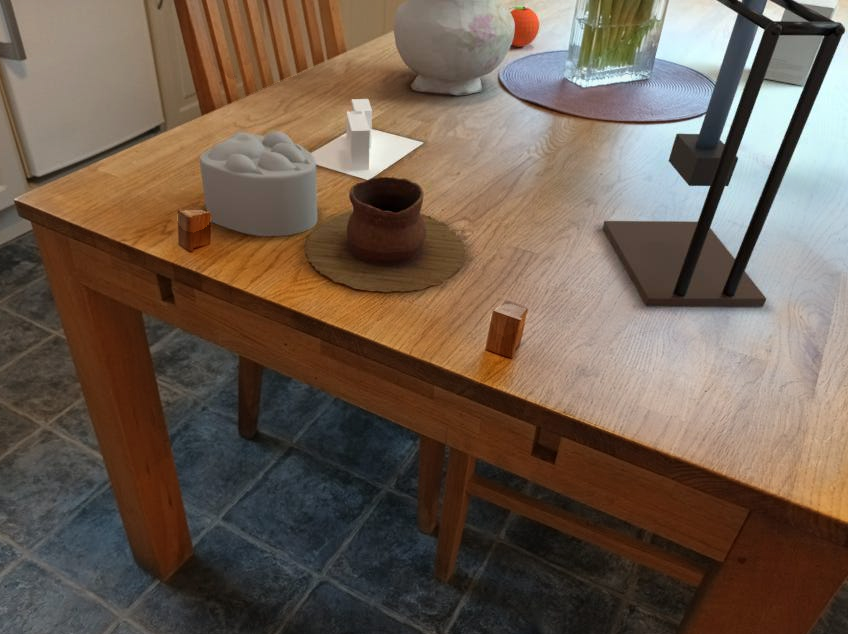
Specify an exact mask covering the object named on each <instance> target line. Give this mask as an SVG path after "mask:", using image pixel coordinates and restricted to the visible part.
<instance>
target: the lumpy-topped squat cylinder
mask: <svg viewBox="0 0 848 634" xmlns="http://www.w3.org/2000/svg"><path fill="white" fill-rule="evenodd" d="M311 153H312V152H310V151H309V150H308V149H306V148H304V147H303V146H302V145H300V144H298V143H294V142H293V139H291V137H290V136H289V135H287V133H285V132H283V131H279V130H275V131H274V130H273V131H270V132H268V133H267V134H266V135H261V134H251V133H249V132H245V131H240V132H239V131H238V132H236V133H233V134H232V136H230V137H228V138H226V139H225V140H224V141H222V142H219V143H216V144H215V145H214V146H213V147H212V148H210V149H207V150H205V151H203V152H202V153H201V154H200V155H199V168H200V175H201V182H202V189H203V197H204V204H205V211H206V210H207V211H209V212H210V213H211V220H209V221H210V222H212V223H213V224H216V225H218V226H221V227H223V228H226V229H229V230H231V231H234V232H235V231H236V232H239V233H243V234H247V235H251V236H256V237H284V236H285V237H286V236H291V235H296V234H300V233H303V232H304V233H305V232H308V231H309V230H311V229H313V228H314V227H315V226H316V225H317V223H318V196H317V195H318V191H317V165H316V162H315V159H314V157H313V155H312V154H311Z"/></svg>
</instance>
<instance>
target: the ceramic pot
mask: <svg viewBox="0 0 848 634" xmlns="http://www.w3.org/2000/svg"><path fill="white" fill-rule="evenodd" d="M424 196H425V195H424V190H423V188H422V186H421V185H420V184H419V183H417V182H413V181H411V179H408V178H404V177H403V178H397V177H390V176H379V177H373V178H370V179H369V180H365V181H361V182H356V184H354V185H352V186H351V188H350V190H349V193H348V198H349V200H350V203H351V205H352V208H353V210H352V211H351V212H349V213H346V214H341V215H339V216H334V217H333V218H331V219H329V220H328V221H325V222H323V223H322V224H320V225H318V227H317V228H316V229H315V230H314V231H312V232H311V234H310V235H309V236H308V238H307V239H306V241H307V242H306V243H305V244H304V248H305V249H304V254H305V255H306V257H307V262H308V263H311V266H312V267H314V269H315V270H316V271H318V272H319V274H321V275H323V276H326V277H327V278H329V279H331V280H332V281H333V282H334V283H335V284H336V283H338V284H344V285H345V286H348V287H351V288H352V289H355V290H362V291H369V292H375V291H377V292H383V293H390V292H391V293H392V292H401V293H405V292H413V291H419V290H420V291H422V290H424V289H425V288H429V287H432V286H439V285H441V284H443V283H444V281H445V279H448V278H450V277H452V276H453V275H455V274H456V272H457V271H460V269H461V268H462V266H463V265H464V264H465V261H466V260H467V256H466V253H467V249H466V248H465V247H466V244H465V243H464V242H463V241H462V240H461V236H460V235H458V234H457V233H456V232H455V231H454V229H449V225H448V224H447V223H446V222H444V221H441V220H438V219H436V218H435V217H432V216H430V215H426V214H423V213H421V211H422V207H423V202H424Z"/></svg>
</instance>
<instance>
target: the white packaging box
mask: <svg viewBox="0 0 848 634" xmlns="http://www.w3.org/2000/svg"><path fill="white" fill-rule="evenodd" d="M794 1H796V2H797V3H799V4H801V5H803V6H805V7H807V8H809V9H811V10H813V11H815V12H817V13H819V14H821V15H823V16H825V17H827V18H829V19H831V20H833V17H834V15H835V12H836V9H837V7H838V4H839V0H794ZM780 21H794V22H809V21H807V20H805V19H803V18H801V17H799V16H798V15H796V14H794V13H792V12H790V11H788V10H786V9H785V8H784V11H783V13H782V16H781V19H780ZM823 38H824V36H791V35H780V36H779V39H778V41H777V44H776V47H775V50H774V52H773V55H772V58H771V61H770V63H769V66H768V69H767V72H766V74H765V77H764V80H771V81H776V82H781V83H784V84H785V83H786V84H792V85H797V86H804V85H805V83H806V80H807V78H808V75H809V73H810V70H811V68H812V65H813V63H814V60H815V58H816V55H817V53H818V50H819V48H820V45H821V43H822V40H823Z"/></svg>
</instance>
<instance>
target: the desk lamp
mask: <svg viewBox="0 0 848 634" xmlns="http://www.w3.org/2000/svg"><path fill="white" fill-rule="evenodd" d="M716 1H717V2H719V3H720V4H722V5H724V6H725V7H727V8H728V9H730V10H731V11H733V12H734V13H736V14H737V15H738V14H740V15H741V16H743V17H744V18H746V19H748V20H749V21H751V22H753V23H754V24H756V25H757V26H758V28H760V29H762V30H763V33H762V35H761V38H760V41H759V44H758V47H757V50H756V53H755V56H754V59H753V61H752V63H751V67H750V70H749V73H748V76H747V79H746V81H745V83H744V84H745V85H744V87H743V89H742V93H741V96H740V99H739V102H738V105H737V107H736V110H735V113H734V116H733V119H732V121H731V125H730V128H729V131H728V133H727V136H726V138H725V142H724V144H725V145H724V147H723V150H722V153H721V156H720V159H719V162H718V165H717V168H716V171H715V173H714V176H713V179H712V182H711V185H710V186H709V188H708V191H707V194H706V196H705V200H704V202H703V205H702V208H701V211H700V214H699V217H698V220H697V221H685V220H683V221H682V220H681V221H679V220H678V221H675V220H674V221H672V220H671V221H670V220H669V221H668V220H663V221H662V220H647V221H646V220H604V221H603V224H602V230H603V233H605V236H606V237H607V239H608V241H609V242H610V244H611V246H612V248H613V249H614V251H615V254H616V255H617V257H618V259H619V260H620V262H621V263H622V266H623V268H624V269H625V271H626V273H627V275H628V276H629V278H630V280H631V281H632V283H633V286H634V287H635V289H636V291H637V292H638V294H639V296H640V298H641V300H642V302H643V303H644V305H645V307H726V308H727V307H729V308H730V307H732V308H733V307H734V308H735V307H737V308H738V307H739V308H740V307H744V308H745V307H746V308H747V307H750V308H751V307H753V308H756V307H757V308H758V307H759V308H760V307H761V308H762V307H764V306H765V305H766V301H767V297H766V296H765V295H764V294H763V292H762V291H761V290H760V288H759V287H758V285H756V283H755V282H754V281H753V280H752V278H751V277H750V276H749V275H748V274H747V272H746V269H747V266H748V264H749V262H750V260H751V257H752V254H753V252H754V250H755V248H756V245H757V243H758V240H759V237H760V235H761V233H762V230H763V228H764V227H765V226H764V225H765V223H766V222H767V218H768V216H769V213H770V211H771V208H772V206H773V204H774V201H775V199H776V198H777V197H776V196H777V194H778V192H779V190H780V187H781V185H782V182H783V180H784V177H785V175H786V172H787V170H788V167H789V165H790V163H791V160H792V157H793V155H794V153H795V151H796V148H797V146H798V143H799V141H800V139H801V136H802V134H803V131H804V129H805V126H806V125H807V123H808V122H807V121H808V119H809V117H810V114H811V112H812V110H813V107H814V105H815V102H816V100H817V98H818V95H819V92H820V90H821V89H822V88H821V87H822V85H823V83H824V81H825V78H826V76H827V73H828V71H829V69H830V66H831V64H832V61H833V59H834V57H835V54H836V52H837V49H838V47H839V44H840V42H841V40H842V37H843V35H844V34H845V32H846V27H845V26H844V25H843V24H842V22H840V21H834V20H833V19H832V20H831V19H829V18H827V17H825V16H823V15H821V14H819V13H817V12H815V11H813V10H811V9H809V8H807V7H805V6H803V5H801V4H799V3H797V2H796V1H794V0H769V1H770V2H772V3H774V4H775V5H777V6H779V7H780V8H783V9H784V10H785V9H786V10H788V11H790V12H792V13H794V14H796V15H798V16H799V17H801V18H803V19H805V20H807V21H809V22H794V21H781V20H773V19H771V18H770V17H767V16H765V15H764V14H763V15H762V14H761V13H759V12H757V11H755V10H754V9H752V8H750V7H749V6H747V5H745V4H743V3H742V1H740V0H716ZM780 35H791V36H824V38H823V40H822V43H821V45H820V48H819V50H818V53H817V55H816V58H815V60H814V63H813V65H812V68H811V70H810V73H809V75H808V77H807V79H806V81H805V83H804V85H803V88H802V91H801V93H800V96H799V98H798V100H797V102H796V103H797V104H796V106H795V109H794V110H793V113H792V117H791V118H790V120H789V123H788V126H787V128H786V130H785V133H784V136H783V138H782V140H781V143H780V145H779V147H778V151H777V153H776V156H775V158H774V161H773V163H772V166H771V168H770V171H769V174H768V175H767V178H766V181H765V183H764V185H763V188H762V191H761V193H760V195H759V199H758V201H757V203H756V206H755V208H754V210H753V214H752V216H751V218H750V221H749V223H748V225H747V229H746V231H745V233H744V236H743V238H742V240H741V243H740V246H739V249H738V251H737V253H736V256H735V257H734V256H733V254H732V253H731V252H730V250H728V248H727V247H726V245H724V243H723V242H722V241H721V239H720V238H719V237H718V236H717V235H716V233H715V232H714V231H713V229H712V228H711V226H712V224H713V220H714V218H715V215H716V213H717V209H718V207H719V204H720V201H721V199H722V196H723V194H724V190H725V187H726V186H725V185H726V182H727V180H728V177H729V174H730V171H731V168H732V166H733V163H734V160H735V157H736V156H737V154H738V152H739V149H740V146H741V144H742V141H743V138H744V135H745V132H746V129H747V127H748V124H749V122H750V119H751V115H752V113H753V110H754V108H755V105H756V103H757V100H758V97H759V94H760V91H761V88H762V86H763V83H764V80H765V78H764V77H765V74H766V72H767V69H768V66H769V63H770V61H771V58H772V55H773V52H774V50H775V47H776V44H777V41H778V39H779V36H780Z"/></svg>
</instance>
